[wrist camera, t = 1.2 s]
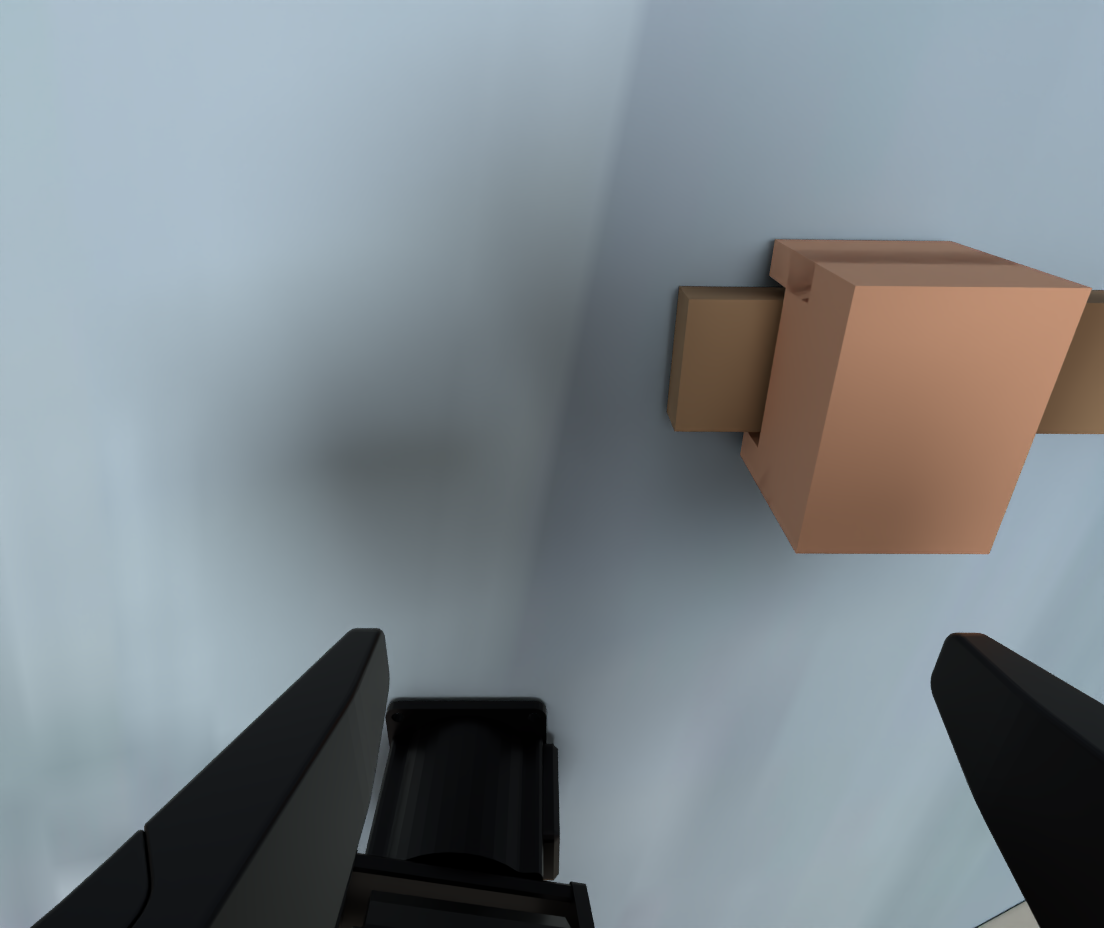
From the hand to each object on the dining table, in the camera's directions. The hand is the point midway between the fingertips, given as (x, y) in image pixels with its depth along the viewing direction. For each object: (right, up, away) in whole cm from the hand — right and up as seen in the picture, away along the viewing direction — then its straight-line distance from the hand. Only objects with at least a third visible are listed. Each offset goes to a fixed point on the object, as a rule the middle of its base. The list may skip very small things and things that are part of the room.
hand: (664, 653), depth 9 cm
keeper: (+7, +6, +11) cm, 15 cm away
